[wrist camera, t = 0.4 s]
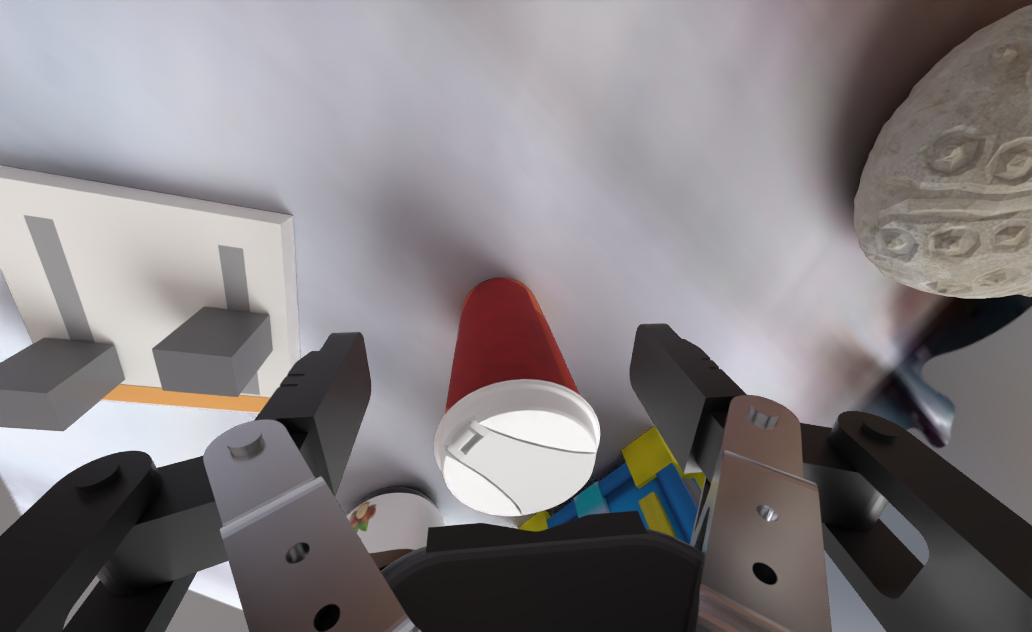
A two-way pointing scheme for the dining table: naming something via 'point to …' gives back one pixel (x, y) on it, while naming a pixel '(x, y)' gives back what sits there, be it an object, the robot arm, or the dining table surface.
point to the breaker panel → (145, 275)
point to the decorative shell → (957, 172)
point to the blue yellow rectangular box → (638, 492)
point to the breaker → (56, 383)
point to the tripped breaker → (214, 352)
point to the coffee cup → (512, 409)
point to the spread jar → (394, 523)
